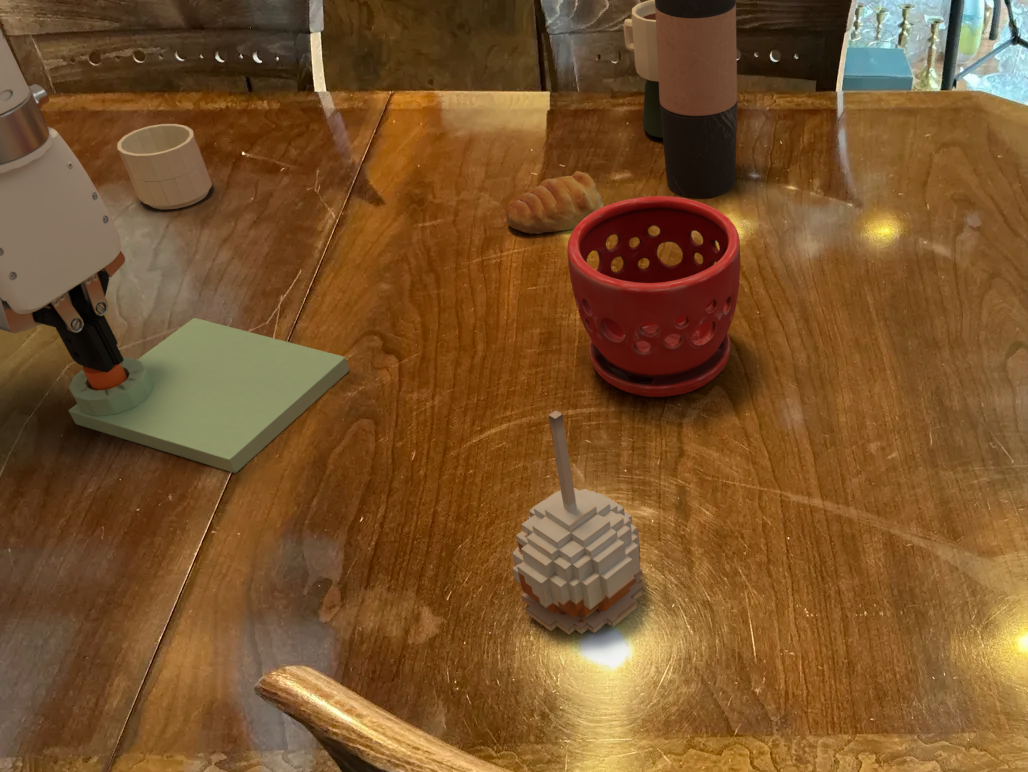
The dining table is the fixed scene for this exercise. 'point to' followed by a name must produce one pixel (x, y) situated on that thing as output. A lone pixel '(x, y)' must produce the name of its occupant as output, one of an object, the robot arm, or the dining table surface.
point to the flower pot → (656, 294)
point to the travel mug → (698, 94)
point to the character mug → (646, 61)
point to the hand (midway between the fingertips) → (101, 363)
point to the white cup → (165, 166)
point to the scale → (209, 393)
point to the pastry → (555, 204)
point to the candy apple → (577, 554)
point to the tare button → (105, 377)
